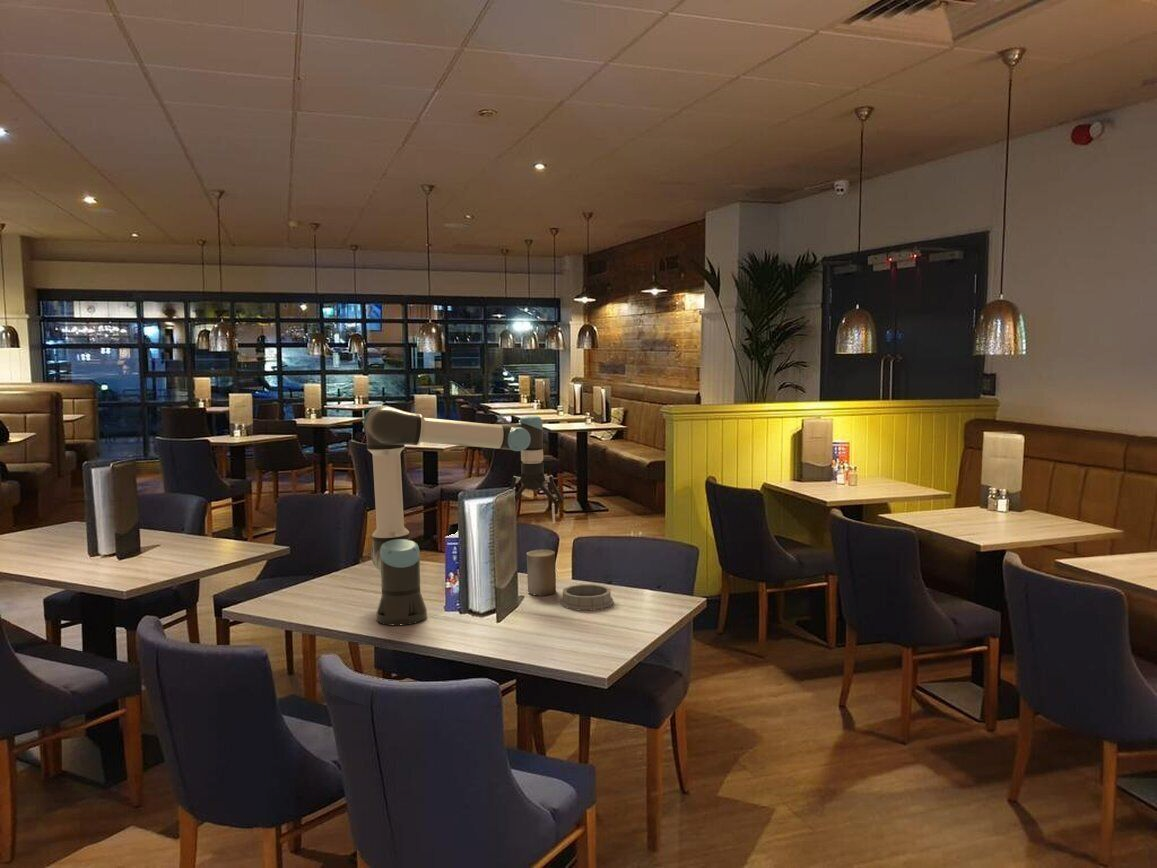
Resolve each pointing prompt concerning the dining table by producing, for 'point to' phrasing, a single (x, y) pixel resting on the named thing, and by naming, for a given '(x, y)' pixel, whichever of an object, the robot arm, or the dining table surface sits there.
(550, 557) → the pillar candle
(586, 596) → the candle dish
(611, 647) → the dining table surface
